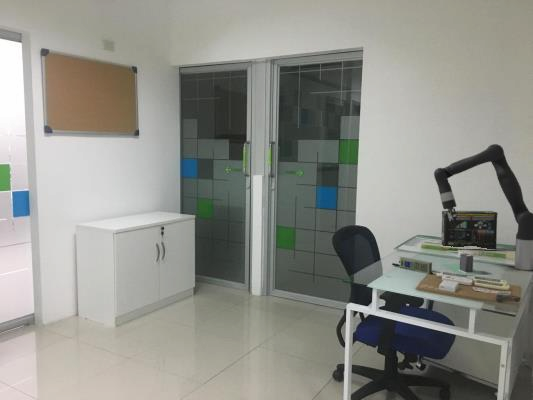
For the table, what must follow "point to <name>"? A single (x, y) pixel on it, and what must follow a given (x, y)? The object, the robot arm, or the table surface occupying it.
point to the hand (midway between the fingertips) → (455, 226)
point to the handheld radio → (415, 265)
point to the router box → (470, 229)
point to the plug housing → (466, 262)
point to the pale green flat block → (458, 269)
